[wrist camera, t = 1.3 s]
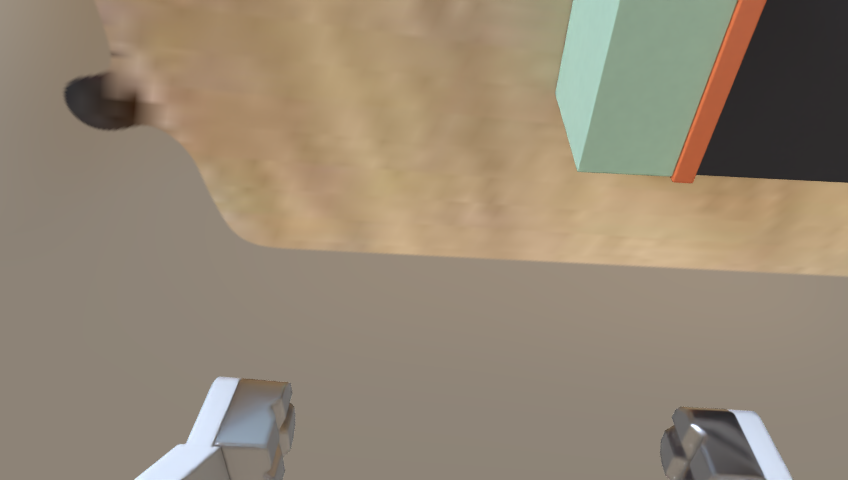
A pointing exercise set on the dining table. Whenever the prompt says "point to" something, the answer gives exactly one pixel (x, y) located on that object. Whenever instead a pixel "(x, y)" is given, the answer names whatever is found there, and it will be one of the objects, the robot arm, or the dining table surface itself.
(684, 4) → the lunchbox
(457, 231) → the dining table surface
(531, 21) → the dining table surface
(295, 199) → the dining table surface
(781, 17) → the mat
